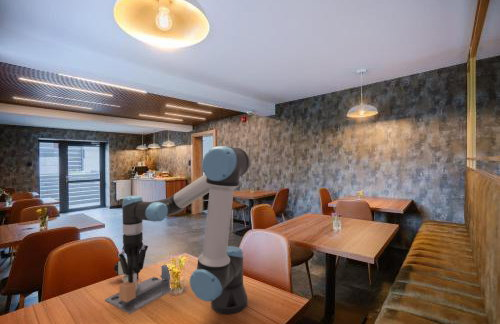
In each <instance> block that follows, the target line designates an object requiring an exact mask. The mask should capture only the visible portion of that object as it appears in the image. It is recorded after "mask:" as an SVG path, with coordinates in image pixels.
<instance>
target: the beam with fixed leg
mask: <svg viewBox="0 0 500 324" xmlns="http://www.w3.org/2000/svg"><path fill="white" fill-rule="evenodd" d="M160 279H162V281H160V282H158V283H156V284H154V285H152V286H150V287H148V288H146V289H144V290H142V291H140V292H138V293H136V298H134V299H132V300H130V301H128V302H127V303H126V302H124V301H122V306H124V307H126V306H128V305H129V304H131V303H133V302H135V301H137V300H139V299H141V298H143V297H145V296H147V295H149V294H150V293H152V292H154V291H156V290H158V289H160V288H162V287H164V286H166V285H168V284H169V282H170V281H171V280H170V274H169V270H168V267H167V264H164V265H161V275H160Z"/></svg>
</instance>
